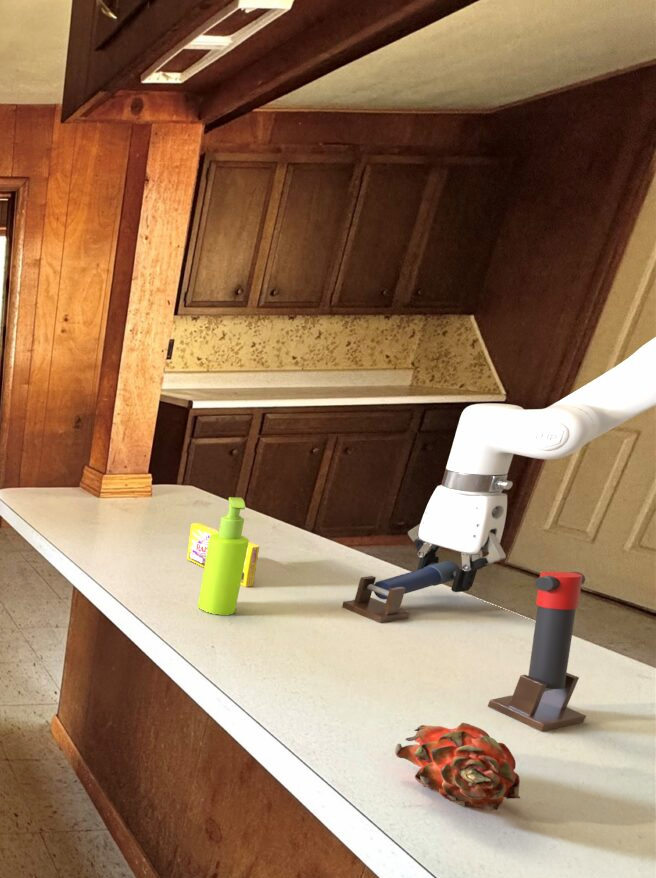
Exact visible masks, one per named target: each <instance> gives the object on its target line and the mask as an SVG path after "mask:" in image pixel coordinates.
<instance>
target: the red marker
mask: <svg viewBox="0 0 656 878" xmlns="http://www.w3.org/2000/svg"><path fill="white" fill-rule="evenodd" d="M584 583H586V577H585V575H584V574H583V573H582V572H579V571H556V570H555V571H541V572H540V574H539V577H538V578H536V580H535V583H534V584H535V587H536V589H537V595H536V603H535V604H536V605H535V606H537V607H536V614H535V615H536V616H535V622H534V623H535V624H534V630H533V637H532V646H531V654H530V661H529V668H528V675H527V676H530V677H532V678H535V679H537V680H539V681H542V682H544V683H547V686H546V688H545V691H549V690H554V689H562V688H564V687H565V680H566V673H568V665H569V659H570V652H571V646H572V645H571V644H572V639H573V638H572V637H573V631H574V626H575V625H574V624H575V617H576V611H577V609H578V608H579V604H580V603H579V602H580V596H581V590H582V585H584Z"/></svg>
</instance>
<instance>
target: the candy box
mask: <svg viewBox="0 0 656 878" xmlns="http://www.w3.org/2000/svg"><path fill="white" fill-rule="evenodd" d="M216 533H219V529H217V528H216V529H215V528H213V527H212V526H211V527H210V526H208V525H205V524H203V523H200V522H194V523H191V524H190V531H189V538H188V546H187V554H186V560H187V559H188V560H190V561H192V562H194V563H196V564H195V565H197V564H198V565H197V566H199V565H200V566H199V567H201V566H202V567H201V568H203V567H205V561H206V555H207V549H208V543H209V538H210V535H212V534H216ZM260 547H261V546H260V545H259V544H256V543H254V542H250V541H249V543H248V548H247V553H246V558H245V563H244V568H243V573H242V578H241V583H240V586H243V587H245V588H249V587H253V586H254V580H255V575H256V568H257V564H258V563H257V562H258V557H259V551H260ZM188 560H187V561H188ZM190 561H189V562H190ZM192 562H191V563H192ZM194 563H193V564H194Z"/></svg>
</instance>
